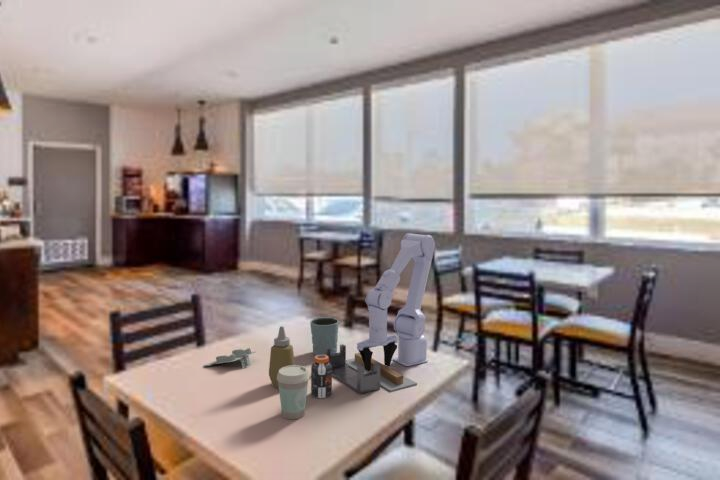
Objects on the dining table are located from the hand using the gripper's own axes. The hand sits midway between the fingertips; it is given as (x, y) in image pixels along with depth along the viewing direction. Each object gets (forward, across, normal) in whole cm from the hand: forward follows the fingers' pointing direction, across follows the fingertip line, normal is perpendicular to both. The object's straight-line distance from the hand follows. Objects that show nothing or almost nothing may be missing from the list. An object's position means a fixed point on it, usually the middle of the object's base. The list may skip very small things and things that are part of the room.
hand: (377, 367), depth 155 cm
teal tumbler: (+2, -6, +25) cm, 26 cm away
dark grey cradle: (+2, -10, 0) cm, 10 cm away
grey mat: (+2, 0, 0) cm, 2 cm away
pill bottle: (+2, -23, -5) cm, 24 cm away
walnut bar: (+1, 0, 0) cm, 1 cm away
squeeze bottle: (+2, -30, +7) cm, 31 cm away
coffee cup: (+2, -35, -12) cm, 37 cm away
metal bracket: (+2, -37, +33) cm, 49 cm away
